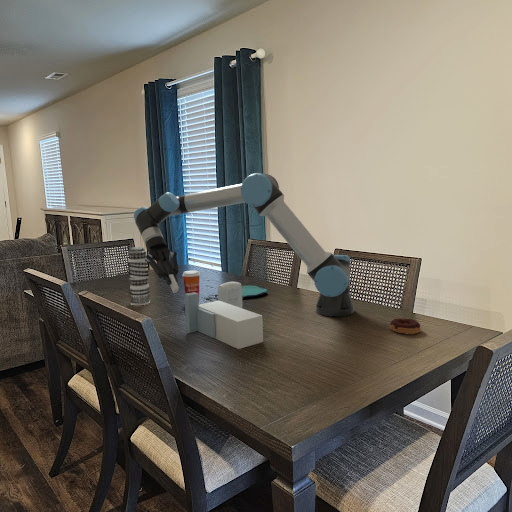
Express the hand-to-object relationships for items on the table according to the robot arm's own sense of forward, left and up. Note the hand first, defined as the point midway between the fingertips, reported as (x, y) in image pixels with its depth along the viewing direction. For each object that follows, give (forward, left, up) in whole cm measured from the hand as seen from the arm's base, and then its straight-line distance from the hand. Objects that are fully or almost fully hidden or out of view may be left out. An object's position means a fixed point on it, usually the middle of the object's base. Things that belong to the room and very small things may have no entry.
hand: (176, 290), depth 167 cm
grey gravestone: (-11, -23, -14) cm, 29 cm away
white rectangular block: (-23, +4, -13) cm, 26 cm away
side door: (-14, +7, -13) cm, 20 cm away
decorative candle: (+33, -22, -14) cm, 42 cm away
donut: (-79, -21, -14) cm, 83 cm away
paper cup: (+11, -30, -14) cm, 35 cm away
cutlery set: (-1, -48, -14) cm, 51 cm away
